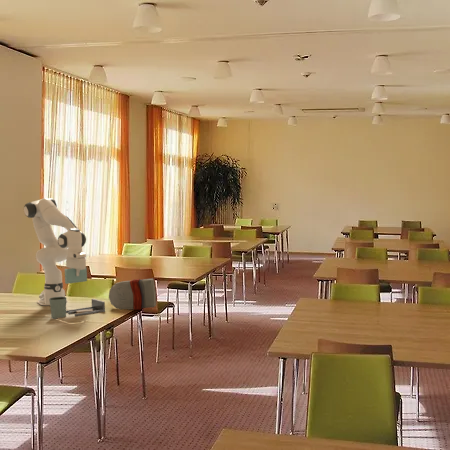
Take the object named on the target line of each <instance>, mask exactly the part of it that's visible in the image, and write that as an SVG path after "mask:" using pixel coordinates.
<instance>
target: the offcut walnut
mask: <svg viewBox="0 0 450 450" xmlns="http://www.w3.org/2000/svg"><path fill="white" fill-rule="evenodd" d="M90 311H94V310H92V309H90V310H79V311H76V313H84V312H90Z"/></svg>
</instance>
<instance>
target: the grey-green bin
mask: <svg viewBox="0 0 450 450" xmlns="http://www.w3.org/2000/svg"><path fill="white" fill-rule="evenodd" d="M66 300H67V296H65V297H53V298H50V299H49V301H50V305H49V306H50V314H51V316H50V317H51V319H52V320H58V319H60V318H65V317H67V313H66V310H67V302H66Z"/></svg>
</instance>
